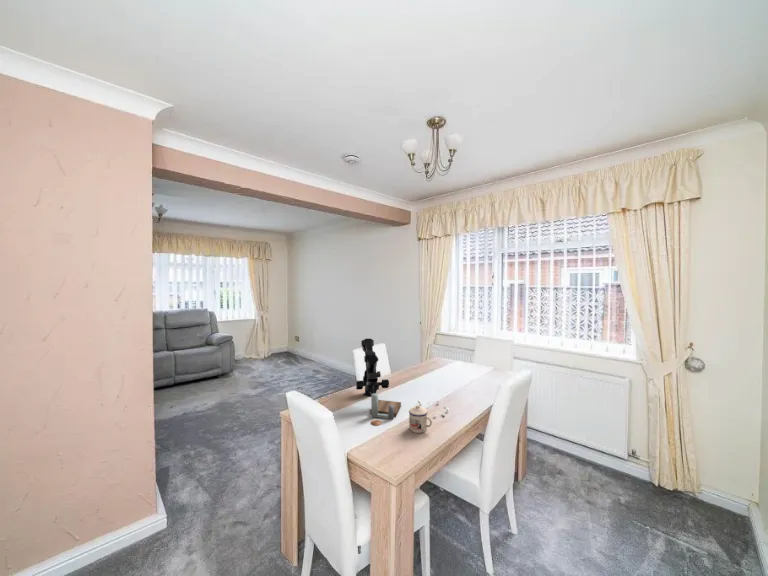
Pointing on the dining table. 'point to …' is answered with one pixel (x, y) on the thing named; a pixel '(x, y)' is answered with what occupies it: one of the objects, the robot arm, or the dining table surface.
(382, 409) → the stool seat
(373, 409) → the grey u-shaped piece
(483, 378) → the dining table surface
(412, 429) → the teacup with lid
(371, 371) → the robot arm
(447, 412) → the game piece set
